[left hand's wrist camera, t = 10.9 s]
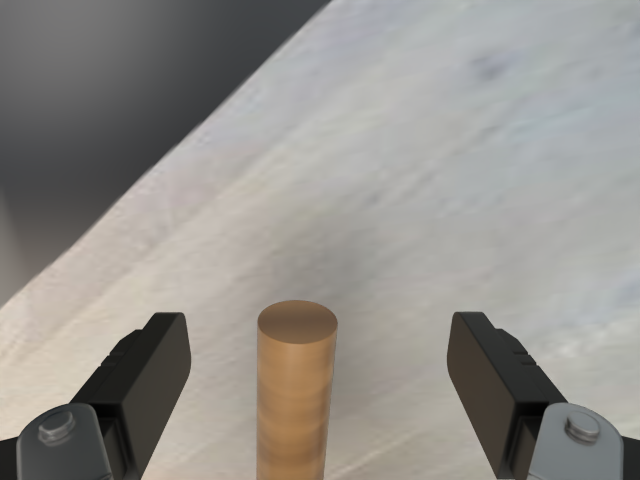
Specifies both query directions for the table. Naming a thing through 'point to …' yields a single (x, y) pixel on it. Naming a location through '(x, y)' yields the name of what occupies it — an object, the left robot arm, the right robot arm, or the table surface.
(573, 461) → the left robot arm
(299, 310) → the rod
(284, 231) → the table surface
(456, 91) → the table surface
